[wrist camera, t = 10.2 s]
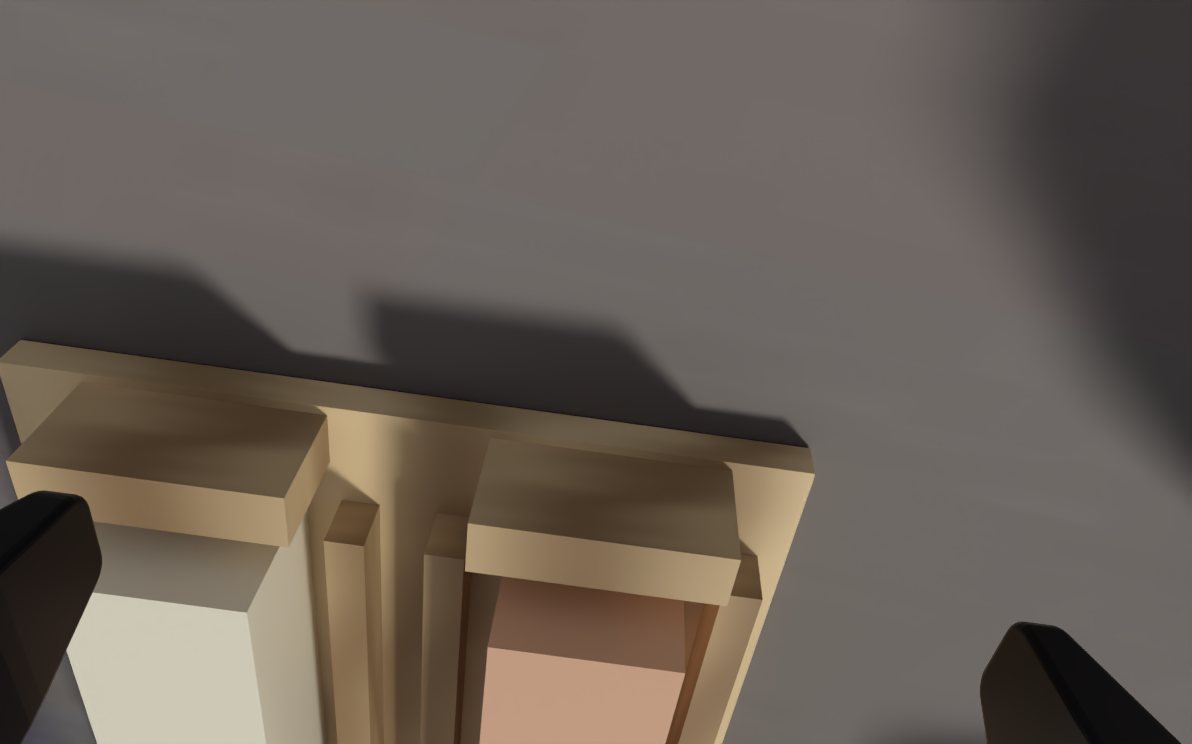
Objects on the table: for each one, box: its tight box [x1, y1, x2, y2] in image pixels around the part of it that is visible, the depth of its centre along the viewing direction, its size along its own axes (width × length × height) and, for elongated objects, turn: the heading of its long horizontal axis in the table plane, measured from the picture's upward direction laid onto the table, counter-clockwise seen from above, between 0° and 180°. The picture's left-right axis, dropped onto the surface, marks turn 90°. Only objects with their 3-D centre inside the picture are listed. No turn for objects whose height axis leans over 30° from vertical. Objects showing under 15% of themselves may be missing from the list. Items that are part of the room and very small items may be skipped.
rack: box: [0, 340, 815, 744], centre depth 27 cm, size 20×22×4 cm
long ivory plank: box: [66, 509, 327, 744], centre depth 26 cm, size 4×16×4 cm, turn 173°
